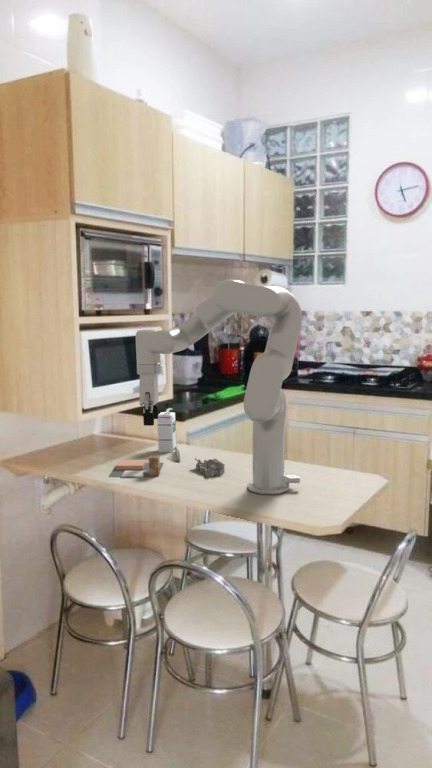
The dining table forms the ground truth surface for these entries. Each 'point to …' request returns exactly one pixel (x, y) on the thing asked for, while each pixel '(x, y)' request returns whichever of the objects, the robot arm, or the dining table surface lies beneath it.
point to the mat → (119, 472)
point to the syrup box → (166, 432)
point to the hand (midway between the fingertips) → (151, 421)
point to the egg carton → (210, 467)
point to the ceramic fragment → (174, 456)
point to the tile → (131, 465)
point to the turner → (153, 471)
